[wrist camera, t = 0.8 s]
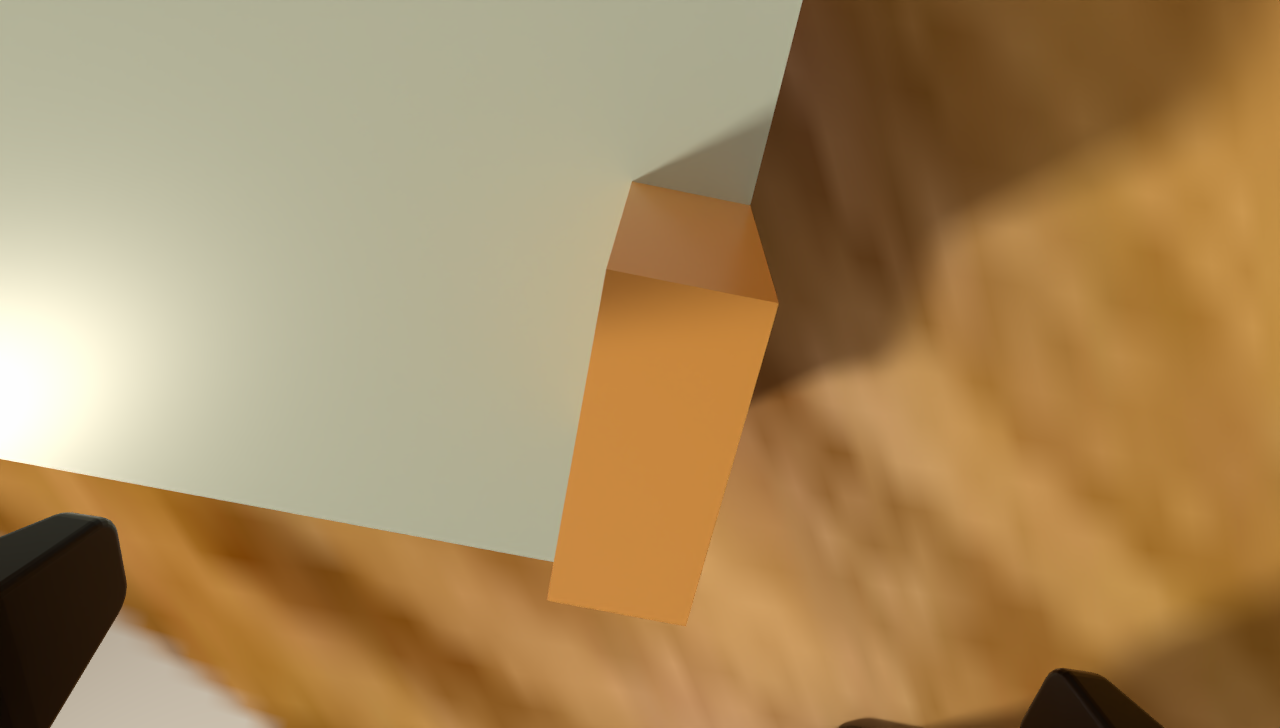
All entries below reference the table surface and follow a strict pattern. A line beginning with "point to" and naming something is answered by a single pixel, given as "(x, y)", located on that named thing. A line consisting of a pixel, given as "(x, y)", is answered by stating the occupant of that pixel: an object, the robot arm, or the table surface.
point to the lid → (397, 264)
